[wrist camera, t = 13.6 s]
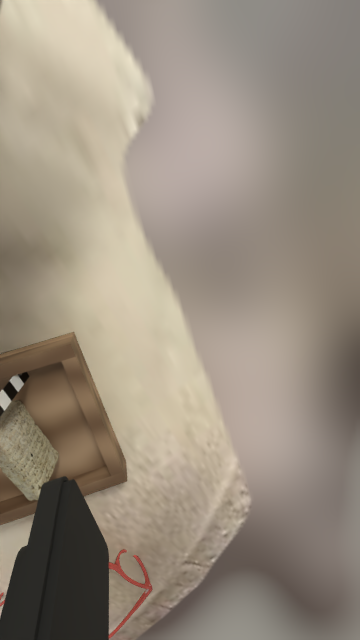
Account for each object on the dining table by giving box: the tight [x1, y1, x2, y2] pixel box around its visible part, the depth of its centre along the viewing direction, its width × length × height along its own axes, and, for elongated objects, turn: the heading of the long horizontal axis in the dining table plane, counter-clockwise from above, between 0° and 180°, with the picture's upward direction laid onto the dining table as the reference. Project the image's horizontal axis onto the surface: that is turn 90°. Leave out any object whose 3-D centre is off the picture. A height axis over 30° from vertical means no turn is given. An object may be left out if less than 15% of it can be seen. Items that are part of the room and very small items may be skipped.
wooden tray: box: [0, 332, 127, 525], centre depth 38 cm, size 19×17×3 cm
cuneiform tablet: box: [0, 372, 59, 501], centre depth 35 cm, size 7×4×12 cm
